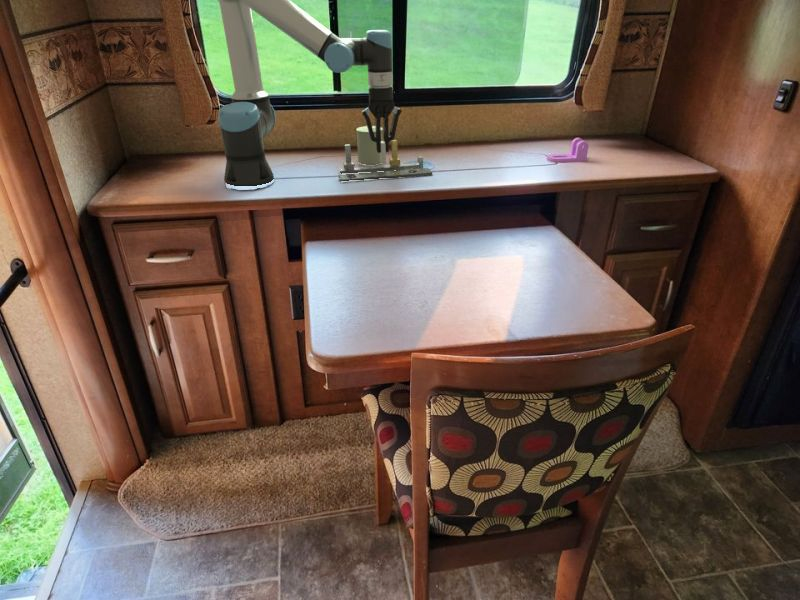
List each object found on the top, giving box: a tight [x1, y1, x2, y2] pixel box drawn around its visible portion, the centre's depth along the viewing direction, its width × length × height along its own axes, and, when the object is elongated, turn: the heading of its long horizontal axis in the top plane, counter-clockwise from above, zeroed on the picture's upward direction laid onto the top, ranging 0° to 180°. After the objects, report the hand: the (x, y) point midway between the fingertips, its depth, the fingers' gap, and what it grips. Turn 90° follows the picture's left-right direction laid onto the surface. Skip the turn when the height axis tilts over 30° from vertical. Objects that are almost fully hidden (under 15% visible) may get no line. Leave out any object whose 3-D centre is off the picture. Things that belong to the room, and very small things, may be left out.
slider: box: [388, 139, 401, 167], centre depth 172 cm, size 3×3×8 cm
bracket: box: [546, 137, 589, 164], centre depth 181 cm, size 13×6×7 cm, turn 96°
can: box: [355, 125, 384, 166], centre depth 180 cm, size 9×9×12 cm
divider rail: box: [339, 143, 424, 174], centre depth 172 cm, size 28×3×9 cm, turn 103°
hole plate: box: [338, 167, 433, 181], centre depth 168 cm, size 30×5×1 cm, turn 103°
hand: (383, 162), depth 173 cm, fingers closed
